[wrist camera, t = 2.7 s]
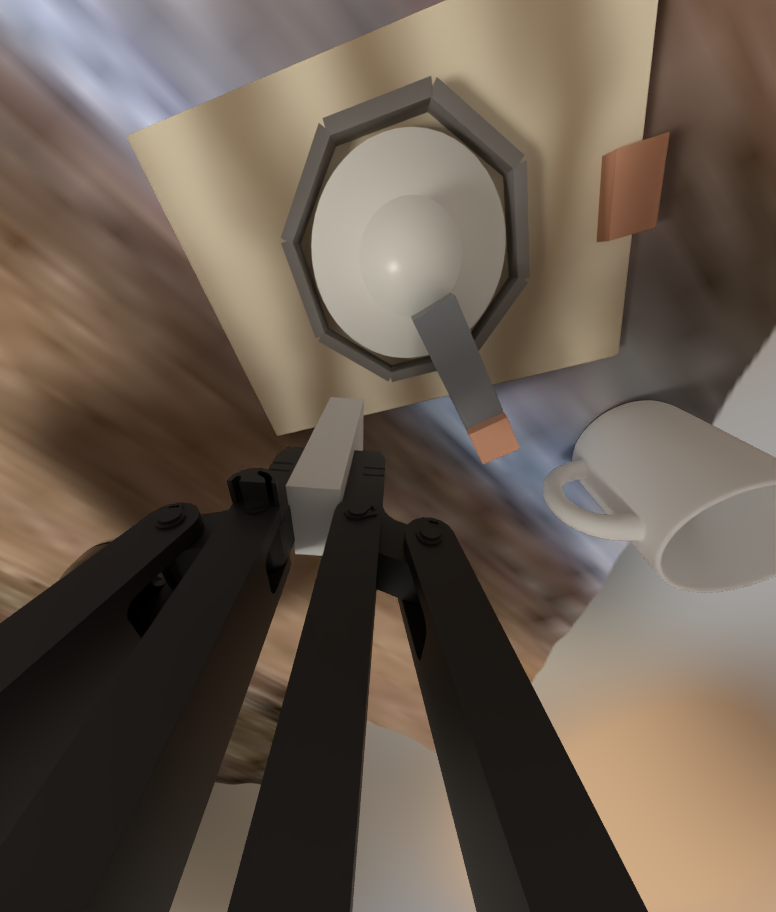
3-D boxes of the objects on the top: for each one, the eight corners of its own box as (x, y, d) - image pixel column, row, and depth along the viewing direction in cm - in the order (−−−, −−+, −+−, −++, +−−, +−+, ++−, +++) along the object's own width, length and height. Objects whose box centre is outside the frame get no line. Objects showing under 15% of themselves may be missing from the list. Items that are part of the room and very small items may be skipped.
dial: (280, 220, 17) (219, 197, 11) (452, 82, 14) (493, -44, 8) (410, 435, 24) (415, 493, 18) (544, 370, 21) (602, 413, 15)
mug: (519, 498, 28) (576, 606, 19) (522, 414, 24) (596, 503, 15) (664, 479, 27) (796, 585, 18) (695, 387, 23) (886, 467, 14)
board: (281, 428, 25) (269, 446, 23) (143, 143, 16) (100, 123, 14) (613, 349, 21) (641, 360, 19) (658, -71, 13) (718, -147, 10)
